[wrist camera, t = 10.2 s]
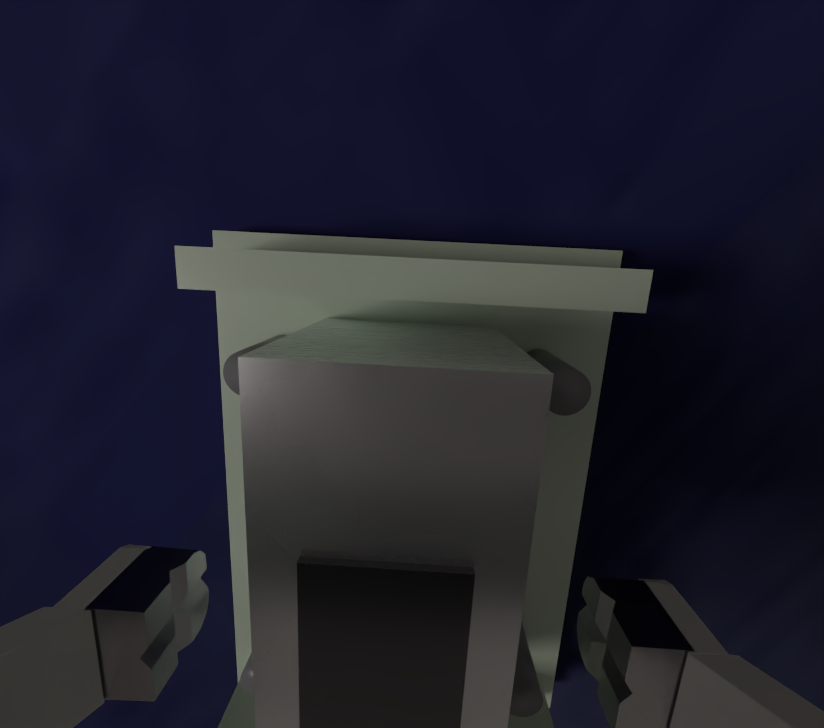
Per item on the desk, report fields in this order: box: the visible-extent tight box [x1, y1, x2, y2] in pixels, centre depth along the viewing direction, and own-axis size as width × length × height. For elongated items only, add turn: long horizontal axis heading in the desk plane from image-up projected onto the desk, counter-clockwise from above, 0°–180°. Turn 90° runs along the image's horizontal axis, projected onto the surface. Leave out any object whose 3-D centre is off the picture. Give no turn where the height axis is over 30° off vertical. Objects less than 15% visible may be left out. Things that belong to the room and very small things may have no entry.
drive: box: [238, 318, 554, 728], centre depth 9 cm, size 10×4×5 cm, turn 177°
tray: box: [175, 230, 653, 728], centre depth 11 cm, size 14×10×3 cm
